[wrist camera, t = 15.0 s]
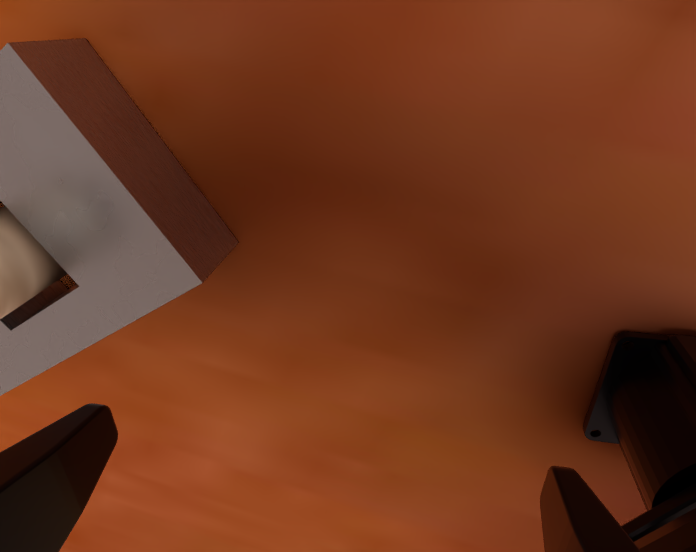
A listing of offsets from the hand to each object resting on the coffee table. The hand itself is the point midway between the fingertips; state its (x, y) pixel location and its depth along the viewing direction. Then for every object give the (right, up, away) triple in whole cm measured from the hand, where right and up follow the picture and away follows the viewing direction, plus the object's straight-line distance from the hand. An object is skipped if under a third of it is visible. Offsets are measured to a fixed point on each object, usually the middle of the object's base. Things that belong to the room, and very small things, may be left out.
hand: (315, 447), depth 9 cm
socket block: (-14, +6, +15) cm, 21 cm away
